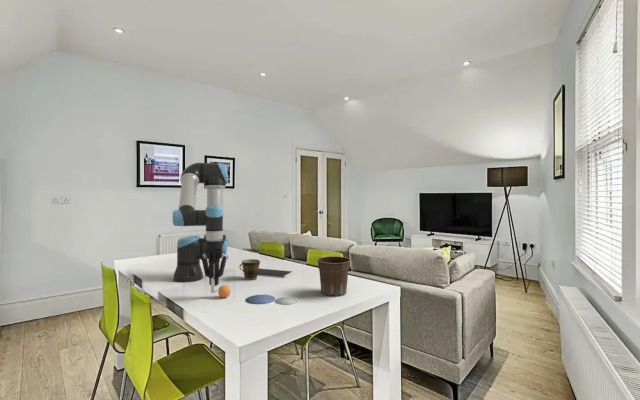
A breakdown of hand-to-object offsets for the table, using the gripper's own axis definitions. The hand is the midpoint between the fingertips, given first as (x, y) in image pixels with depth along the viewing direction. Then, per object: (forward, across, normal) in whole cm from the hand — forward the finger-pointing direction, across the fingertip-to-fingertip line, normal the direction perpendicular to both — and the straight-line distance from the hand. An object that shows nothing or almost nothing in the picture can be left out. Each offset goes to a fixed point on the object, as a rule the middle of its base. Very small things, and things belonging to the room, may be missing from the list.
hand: (213, 292), depth 151 cm
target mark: (+2, +22, +1) cm, 22 cm away
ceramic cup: (+2, +3, +34) cm, 34 cm away
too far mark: (+2, +34, +1) cm, 34 cm away
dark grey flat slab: (+3, +10, +49) cm, 50 cm away
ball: (0, +5, +1) cm, 5 cm away
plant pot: (+3, +52, +18) cm, 55 cm away
